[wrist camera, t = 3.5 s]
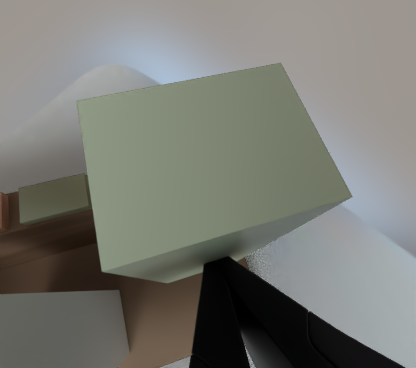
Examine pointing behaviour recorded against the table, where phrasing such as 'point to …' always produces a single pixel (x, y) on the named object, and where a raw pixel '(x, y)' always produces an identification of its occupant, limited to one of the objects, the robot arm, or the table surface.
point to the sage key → (202, 171)
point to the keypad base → (90, 269)
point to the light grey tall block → (62, 330)
